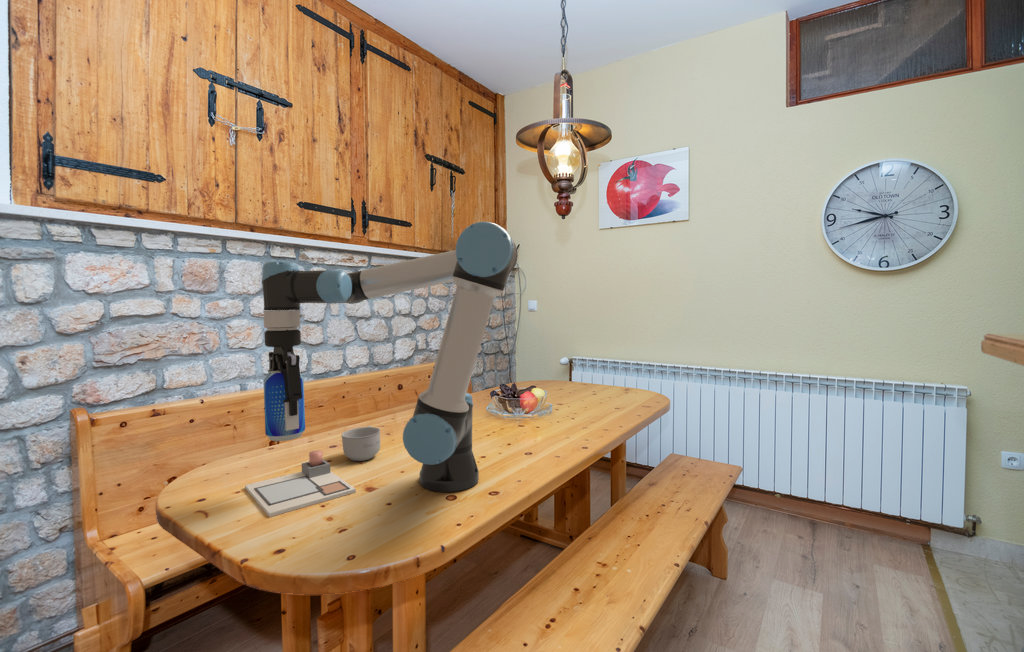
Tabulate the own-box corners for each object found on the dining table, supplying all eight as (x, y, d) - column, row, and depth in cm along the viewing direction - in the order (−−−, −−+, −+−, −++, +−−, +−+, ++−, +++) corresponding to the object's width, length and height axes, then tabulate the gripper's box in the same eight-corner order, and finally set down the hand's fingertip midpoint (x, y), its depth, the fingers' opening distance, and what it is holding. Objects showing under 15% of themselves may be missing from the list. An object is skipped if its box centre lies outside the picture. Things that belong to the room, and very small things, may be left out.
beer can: (265, 444, 101) (263, 373, 100) (265, 435, 108) (263, 368, 107) (306, 438, 105) (304, 370, 104) (304, 430, 112) (302, 366, 111)
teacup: (368, 465, 127) (368, 437, 126) (333, 462, 129) (333, 434, 128) (391, 450, 140) (391, 424, 140) (359, 447, 142) (359, 422, 142)
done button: (324, 463, 119) (324, 452, 118) (311, 466, 116) (311, 455, 116) (319, 460, 121) (319, 449, 121) (307, 463, 119) (307, 452, 119)
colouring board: (355, 492, 109) (355, 479, 109) (269, 517, 96) (269, 502, 96) (323, 469, 123) (323, 457, 123) (244, 488, 110) (244, 475, 110)
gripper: (316, 329, 100) (319, 431, 102) (284, 327, 115) (287, 415, 116) (280, 331, 95) (283, 438, 96) (251, 328, 110) (255, 420, 111)
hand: (285, 425), depth 106 cm, fingers closed on beer can, 8 cm apart
